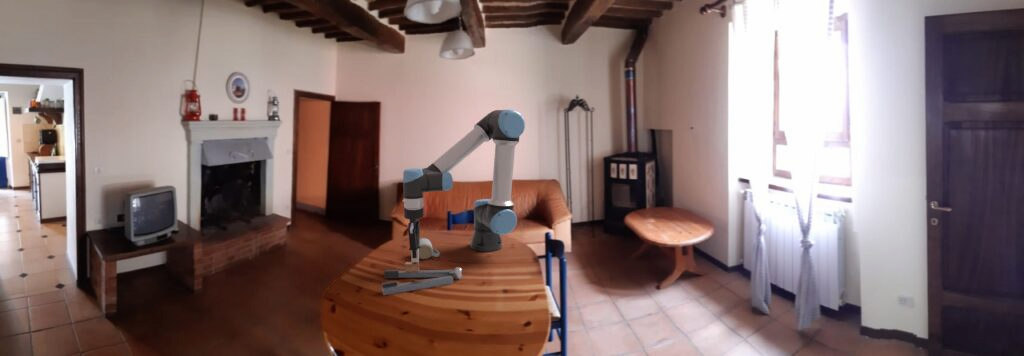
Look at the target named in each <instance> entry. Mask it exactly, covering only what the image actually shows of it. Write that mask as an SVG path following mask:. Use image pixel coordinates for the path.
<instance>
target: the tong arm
mask: <svg viewBox="0 0 1024 356" xmlns="http://www.w3.org/2000/svg"><path fill="white" fill-rule="evenodd" d="M462 269H463V268H462V267H459V266H458V267H455V268H454V269H429V270H428V269H424V270H422V269H421V270H420V261H419V262H411V261H406V262H405V263H404V270H399V269H384V272H383V273H384V279H400V278H401V279H402V278H407V279H408V278H409V279H410V278H411V279H412V278H414V279H415V278H438V277H444V276H451V275H452V277H453V278H454V279H455V280H461V279H462V277H463V275H462V274H463V271H462Z"/></svg>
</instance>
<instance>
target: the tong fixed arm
mask: <svg viewBox="0 0 1024 356" xmlns="http://www.w3.org/2000/svg"><path fill="white" fill-rule="evenodd" d="M452 284H454V277H452V275H451V276H444V277H431V278H427V279H422V280H421V279H420V280H415V281H409V282H402V283H398V282H397V280H393V281H386V282H381V292H382V295H383V296H388V295H389V296H390V295H394V294H401V293H406V292H407V293H408V292H411V291H412V292H413V291H417V290H425V289H429V288H435V287H436V288H437V287H440V286H447V285H452Z"/></svg>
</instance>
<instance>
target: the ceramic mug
mask: <svg viewBox="0 0 1024 356" xmlns="http://www.w3.org/2000/svg"><path fill="white" fill-rule="evenodd" d="M419 243H420V244H419V246H421V247H420V248H418V249H419V260H427V259H430V258H431V257H435V258H438V257H439V256H440V254H441V252H440V251H439V250H437V249H435V248H433V244H432V242H431V241H430V240H429V239H428V238H426V237H425V238H424V237H422V238H421V237H420V238H419Z"/></svg>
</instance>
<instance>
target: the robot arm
mask: <svg viewBox="0 0 1024 356" xmlns="http://www.w3.org/2000/svg"><path fill="white" fill-rule="evenodd" d="M525 128H526V122H525V119H524V117H523V115H522V113H520V112H519V111H517V110H514V109H496V110H491V112H489V113H487V114H486V115H485V116H484V117H482V118H481V119H480V120H479V121H478V122H477V123H475V124H474V125H473V129H471V130H470V131H469V132H468V133H467V134H466V135H464V136H463V137H462V138H461V139H460V140H459V141H457V142H456V143H454V145H453V146H452V147H450V148H449V149H448V150H447V151H445V152H444V153H443V154H442V155H440V156H439V157H438V158H437V159H436V160H434V162H432V163H431V164H430V165H428V166H427V167H423V168H407V169H404V171H403V172H402V173H403V174H402V183H403V184H402V186H403V188H402V189H403V199H402V202H403V207H404V209H403V217H404V219H406V220H409V222H408V223H407V224H408V226H407V227H408V229H407V233H408V240H409V241H408V243H409V249H408V251H410V256H411V261H410V262H419V263H420V258H419V249H418V248H420V247H421V246H419V244H420V243H419V239H421V237H420V236H421V233H420V231H421V230H420V228H421V221H420V220H419V219H422V218H424V214H425V213H424V206H425V205H424V193H434V192H445V191H450V190H452V189H453V186H454V181H453V180H454V178H453V175H452V173H450V171H452V170H453V169H454V168H456V166H458V165H459V164H460V163H461V162H462V161H463V160H465V159H466V158H467V157H468V156H470V154H472V153H473V152H475V150H477V149H478V148H480V146H481V145H482V144H484V143H487V142H489V141H490V140H491V141H492V142H493V143H494V144H495V147H494V160H493V161H494V162H493V172H492V173H493V174H492V187H491V198H483V199H477V200H475V201H474V203H473V228H474V230H473V235H472V238H471V240H470V248H471V249H472V250H473V251H477V252H495V251H499V250H501V249H502V248H503V239H502V237H501V236H504V235H509V234H510V233H512V231H513V230H515V228H516V226H517V224H518V223H517V222H518V217H517V214H516V213H515V212H514V206H515V205H514V204H515V203H514V202H513V200H512V191H513V190H512V188H513V176H514V165H515V164H514V163H515V153H516V150H515V149H516V146H517V145H518V144H519V143H520V137H521V136H522V134H523V133H524V131H525Z"/></svg>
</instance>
